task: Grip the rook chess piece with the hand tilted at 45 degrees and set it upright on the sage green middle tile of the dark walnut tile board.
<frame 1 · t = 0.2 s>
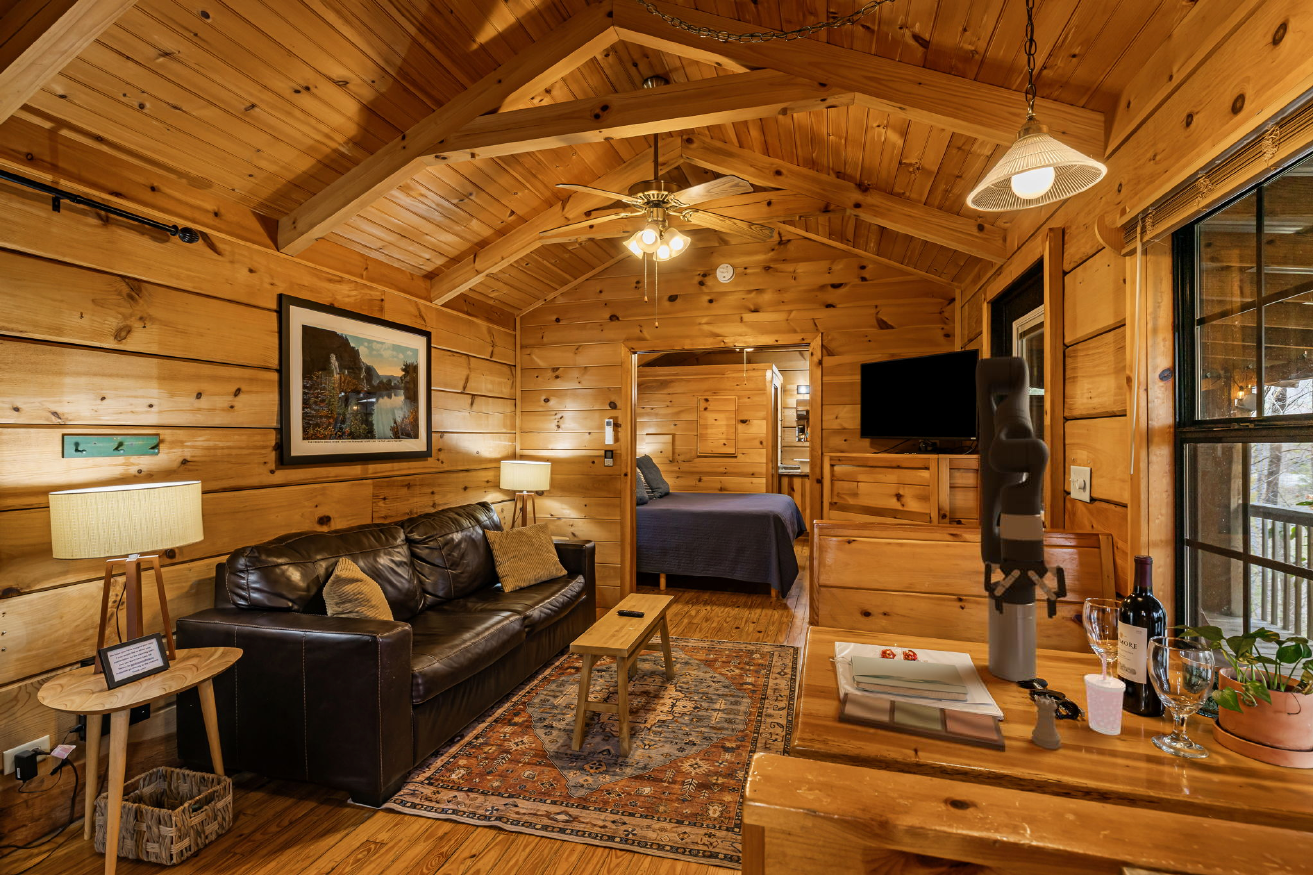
hand: (1025, 615, 119), 18 cm above the table, fingers open, 8 cm apart
beverage cup: (1104, 729, 109), on the table
rook chess piece: (1046, 744, 104), on the table
tile board: (917, 721, 112), on the table
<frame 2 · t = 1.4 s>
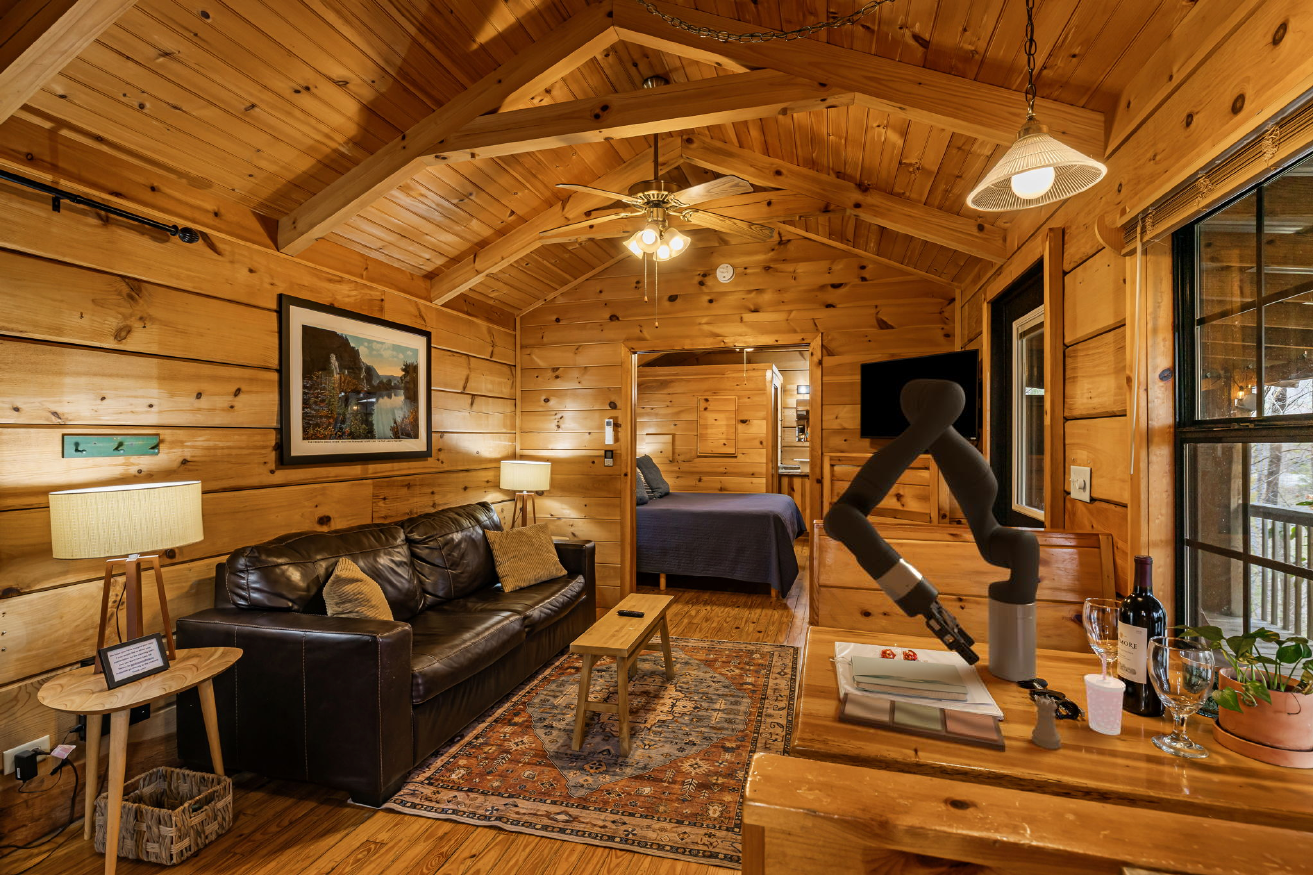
hand: (973, 653, 108), 15 cm above the table, fingers open, 8 cm apart
nothing on the table moved.
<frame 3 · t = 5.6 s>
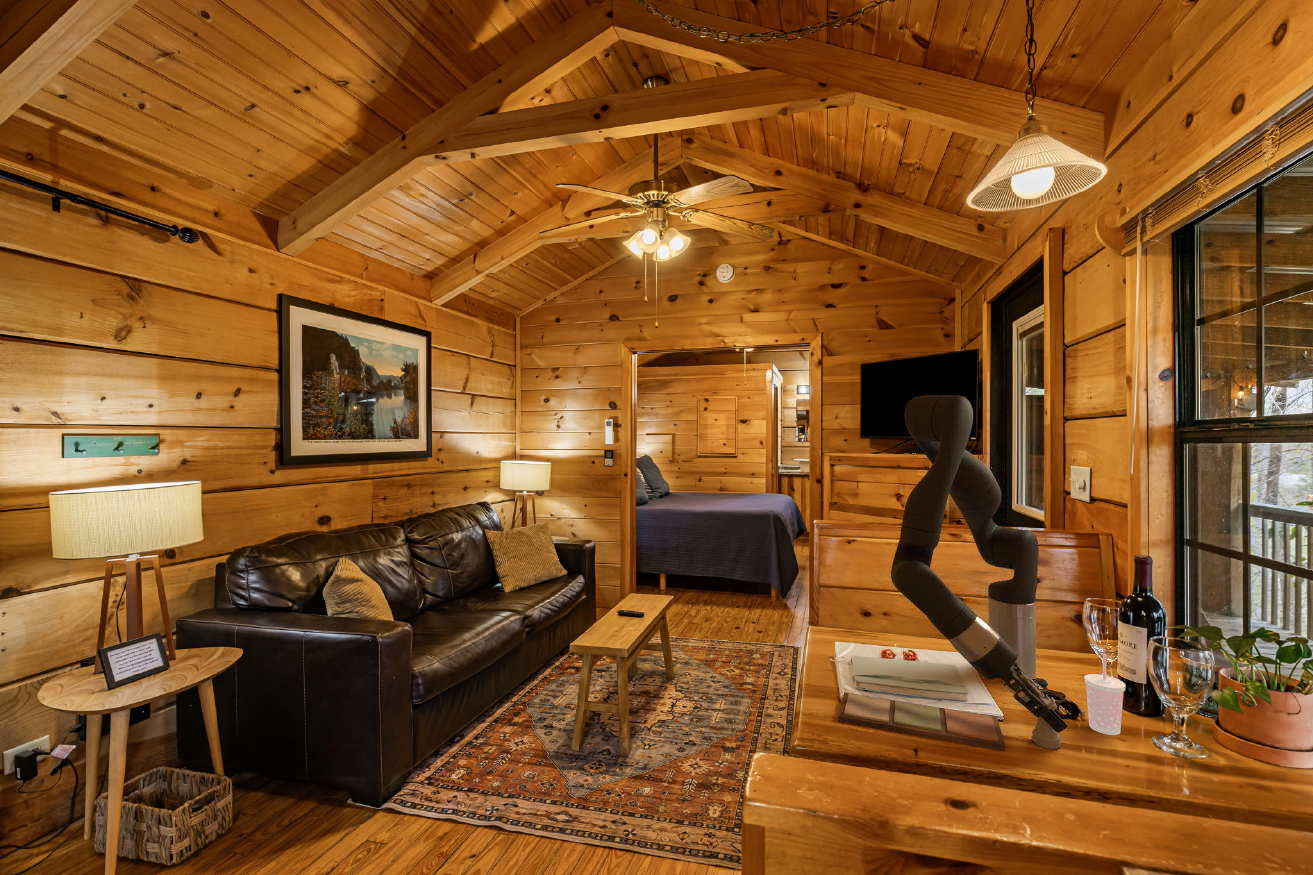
hand: (1059, 723, 103), 4 cm above the table, fingers closed on rook chess piece, 3 cm apart
rook chess piece: (1046, 744, 104), on the table, touching gripper
everything else where it was.
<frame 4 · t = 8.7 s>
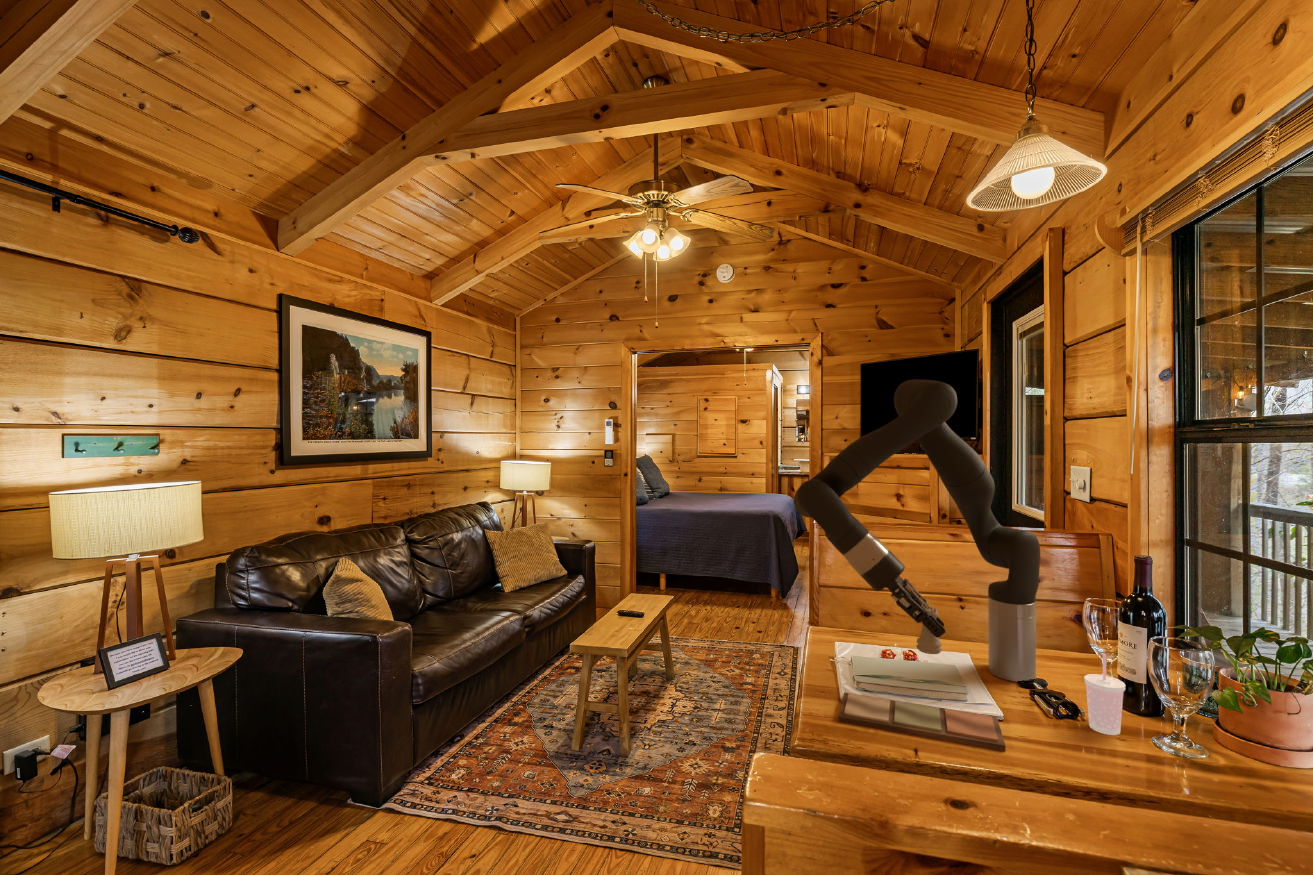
hand: (940, 630, 110), 18 cm above the table, fingers closed on rook chess piece, 3 cm apart
rook chess piece: (928, 651, 111), point 14 cm above the table, touching gripper
everything else where it was.
when the fingers open (6 cm above the table, at t = 11.8 s): rook chess piece stays where it is, resting on tile board.
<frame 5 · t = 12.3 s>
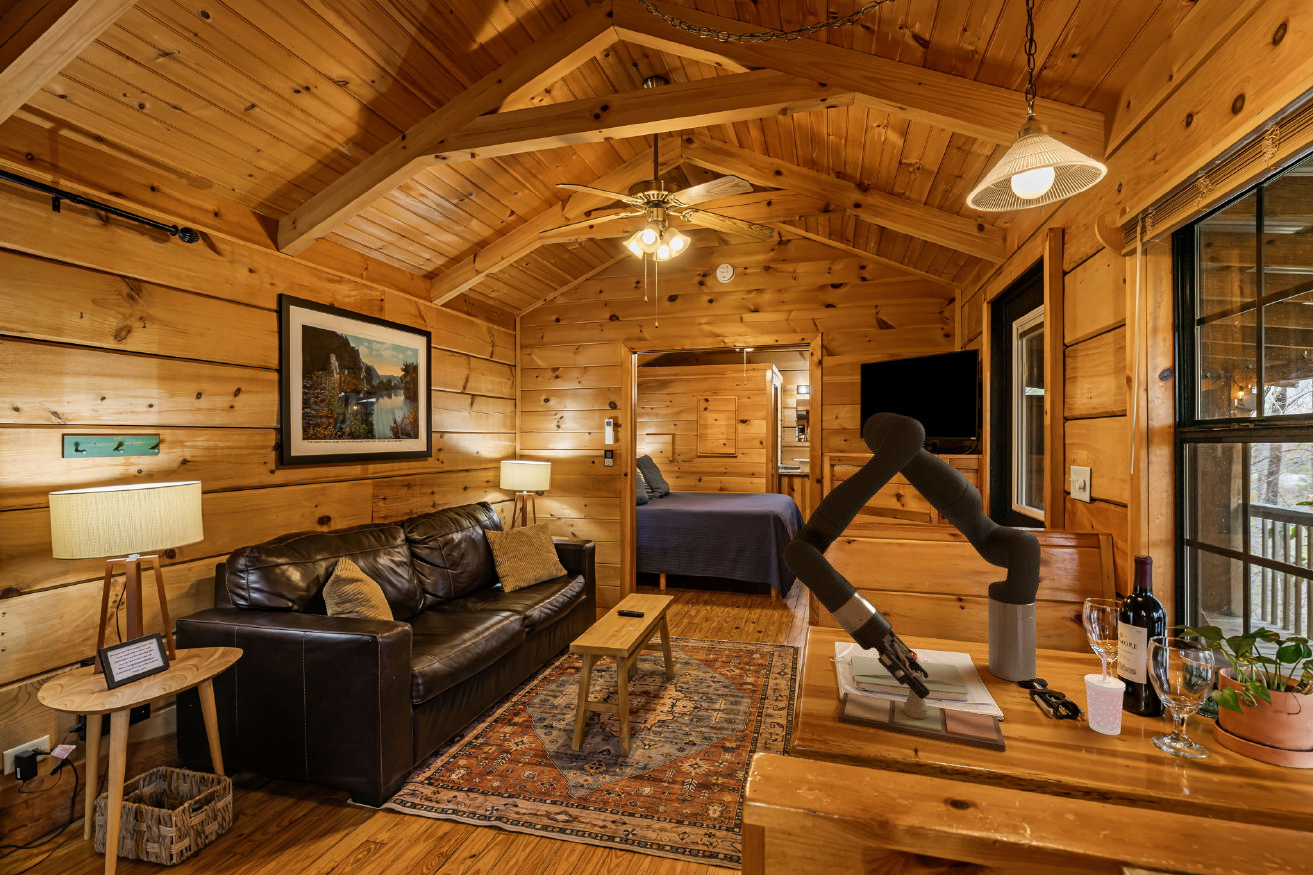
hand: (925, 686, 112), 7 cm above the table, fingers open, 7 cm apart
rook chess piece: (916, 714, 112), point 1 cm above the table, touching tile board
everything else where it was.
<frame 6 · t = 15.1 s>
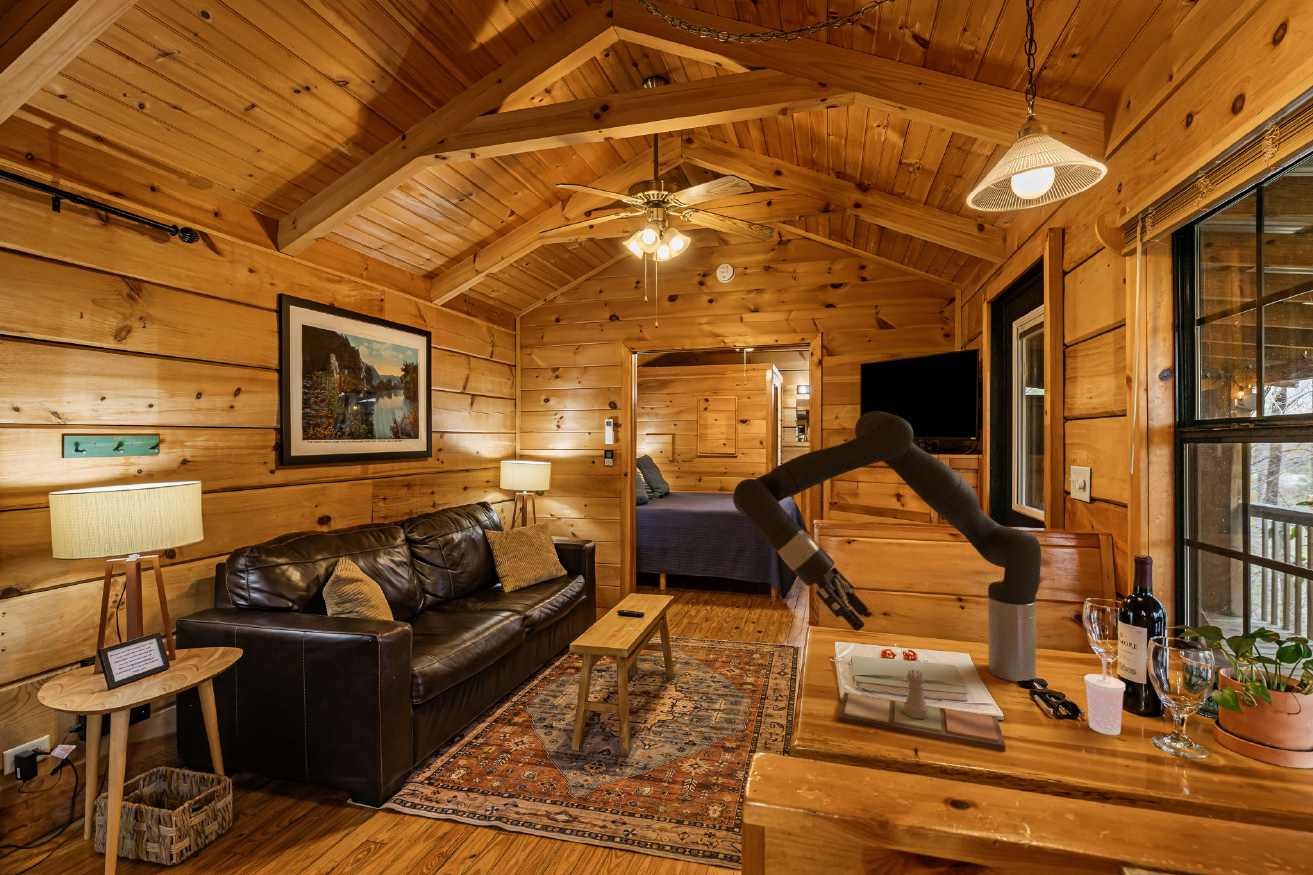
hand: (862, 619, 116), 19 cm above the table, fingers open, 8 cm apart
nothing on the table moved.
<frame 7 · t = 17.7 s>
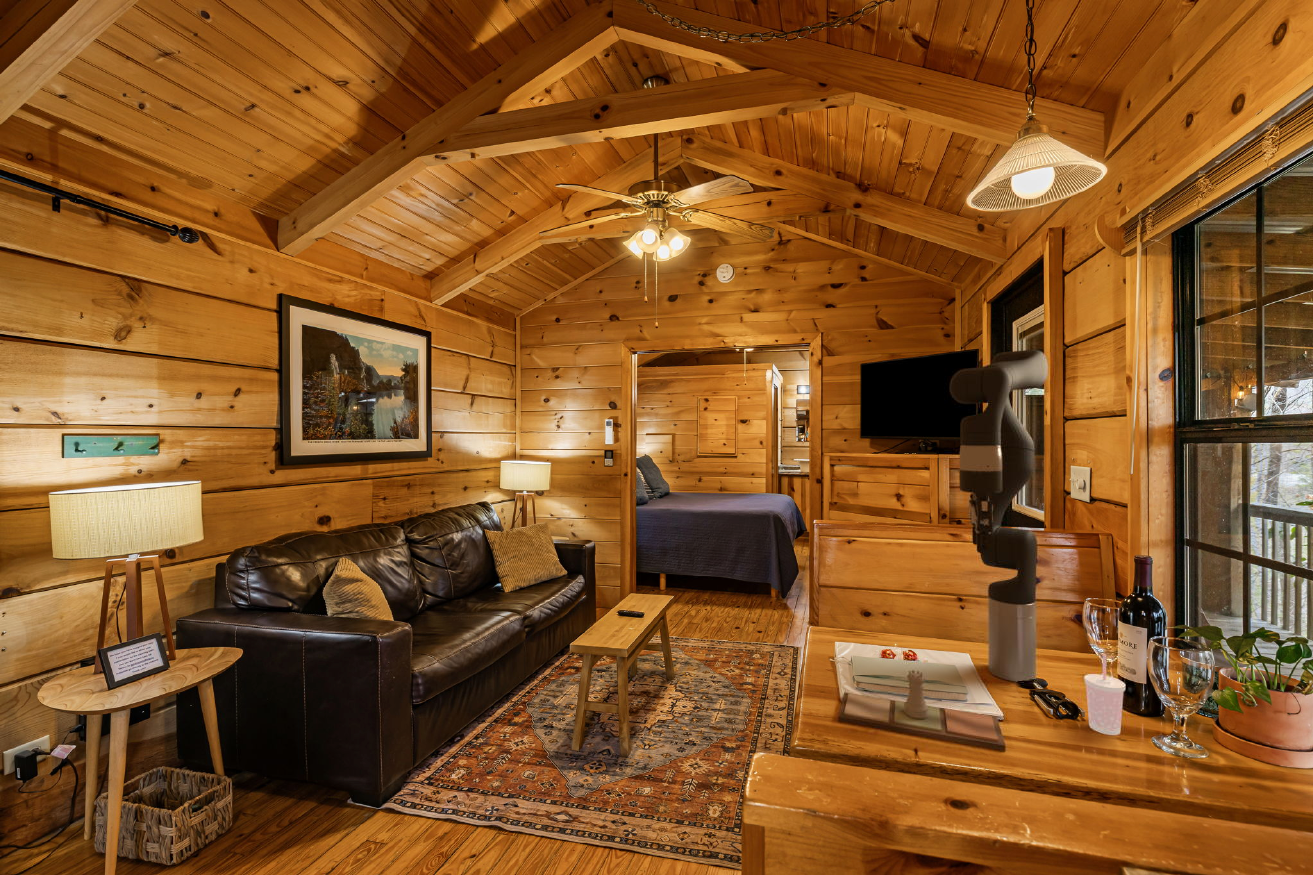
hand: (980, 548, 117), 32 cm above the table, fingers open, 8 cm apart
nothing on the table moved.
at the end: rook chess piece inside the target area on the tile board (0.2 cm from its centre), point 1.2 cm above the tile board's base; rook chess piece tilted 0°; the gripper is holding nothing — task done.
